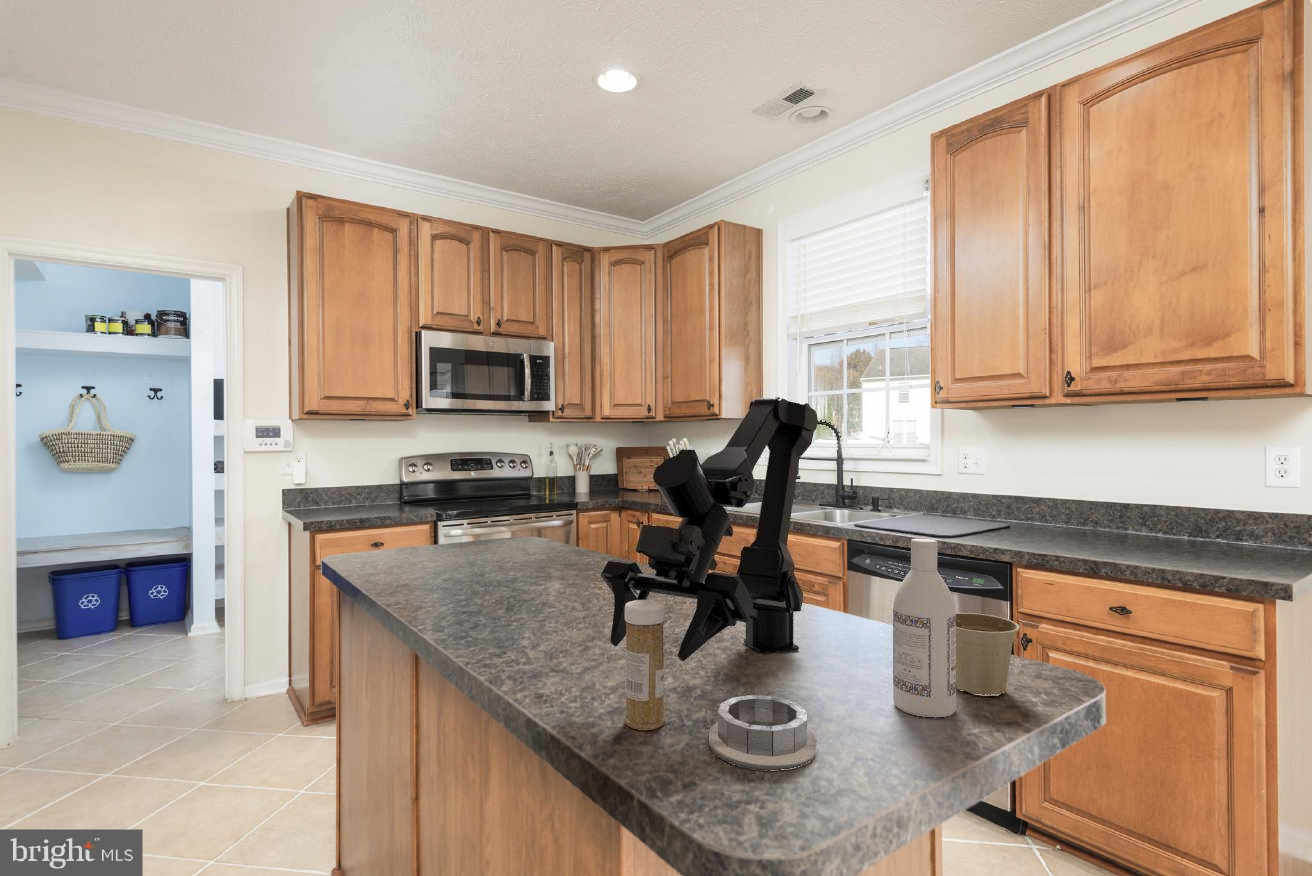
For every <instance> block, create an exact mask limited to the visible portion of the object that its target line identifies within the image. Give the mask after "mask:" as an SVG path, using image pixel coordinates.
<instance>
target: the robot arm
mask: <svg viewBox="0 0 1312 876" xmlns="http://www.w3.org/2000/svg"><path fill="white" fill-rule="evenodd" d="M817 413H818V412H817V411H816V409H815V408H812V407H811V406H810V404H809V403H807V402H798V403H797V402H795V401H794V402H793V401H789V400H787V399H785V398H781V397H780V396H777V397H776V396H774V397H772V396H771V397H770V396H769V397H756V398H755V399H752V400H751V401H750V403H749V407H748V412H747V413H746V414H745V416H744V417H743V419H742V421H741V422H740V423H739V425H738V427H737V428H736V430H735V432H733V434H732V435H731V438H730V439H729V440H728V442H727V444H726V445H725V446H724V448H723V449H722V450H721V451H718V452H716V453H713V454H712V455H709V456H707V458H706V459H705V460H703V462H702V463H700V460H699V456H698V454H697V452H696V450H695V449H683V448H682V449H679V452H678V454H677V455H676V454H675V455H674V456H671V457H669V458H668V459H665V460H664V461H662V462H661V464H659V465H657V466H656V467H655V469H654V471H653V473H652V475H653V476H652V479H653V482H654V484H655V486H656V487H657V489H658V490H659V493H660V494H661V497H662V498H663V499H664V502H665V503H666V505H667V507H668V508H669V510H670V512H671V513H672V514H673V515H674V516H676V517H677V518H681V520H680V522H679V525H678V526H677V528H674V527H670V526H666V525H665V526H664V525H663V526H662V525H653V524H652V525H650V524H642V525H641V528H640V531H639V535H638V539H637V542H636V547H635V550H634V551H635V552H636V553H637V554H642V555H643V556H646V557H648V558H649V560H648V563H647V564H648V566H649V568H650V569H651V570H654V571H655V574H654V575H653V574H652V575H651V574H646V573H645V574H644V572H643V571H642V570H641V568H640V566H639V565H638V564H637V562H636V561H628V560H619V559H611V560H608V561H607V563H606V564H605V565H604V568H603V569H602V570H601V572H600V577H601V578H602V580H603V581H604V582H605V584H606V585H607V587H608V588H609V590H610V591H611V592H612V594H613V600H614V601H613V602H614V603H613V617H612V623H611V630H610V631H611V633H610V640H609V641H610V644H612V646H613V647H618V646H619V644H620V643H621V642H622V641H623V640H624V639H625V637H626V624H625V623H626V621H625V605H626V604H627V603H628V602H631V601H635V600H648V597H649V595H650V593H654V594H660V595H666V596H673V597H678V598H684V599H689V600H690V599H691V600H696V609H695V612H694V614H693V616H692V618H691V621H690V623H689V625H688V627H687V630H686V631H685V634H684V637H683V639H682V641H681V643H680V646H679V649H678V653H677V657H678V659H679V661H682V662H685V661H686V660H687V659H688V658H690V657H691V656H692V655H693V654H694V653H696V651H698V650H699V649H700V648H701V647H703V646H704V645H705V644H706V643H707V642H709V641H710V640H711V639H712V638H713V637H714V636H717V635H718V634H719V633H721V632H722V631H723V630H725V629H727V628H728V627H735V626H736V625H737V623H738V622H741V623H745V638H743V643H745V644H746V645H747V646H749V647H751V648H752V649H754V650H755V651H756V652H758V653H759V654H772V653H773V654H774V653H781V652H790V651H799V650H800V646H799V645H797V644H796V643H794V612H795V613H797V612H801V611H802V607H803V602H804V593H803V590H802V588H801V586H800V583H799V581H798V579H797V577H796V575H795V566H796V565H795V562H794V560H793V558H792V555H791V552H790V551H789V549H788V539H789V531H790V525H791V523H790V522H791V519H792V518H791V517H792V511H793V502H794V496H795V490H796V484H797V483H796V482H797V475H798V467H799V462H800V458H801V457H803V454H804V453H805V452H806V451H807V450H808V449H809V448H810V446H811V445H812V444H813V443H812V442H813V440H814V439H813V437H814V433H815V431H816V430H817V427H818V421H819V420H818V414H817ZM766 447H767V448H768V450H769V451H768V459H767V464H766V465H767V466H766V472H765V479H764V485H763V486H764V487H763V492H762V499H761V504H760V510H759V516H758V523H757V531H756V534H755V535H756V536H755V539H754V540H753V542H752V543H751V544H750V545H747V546H746V545H744V546H743V547H742V549H741V551H740V558H739V563H738V568H737V569H736V570H737V571H736V574H732V573H724V572H723V573H722V572H717V571H716V572H715V570H716V569H717V566H718V562H717V561H716V559H715V556H716V554H717V552H718V550H719V547H720V545H721V543H722V540H723V538H724V537H728V538H729V537H733V535H734V528H733V526H732V524H731V521H730V520H731V518H730V516H729V515H728V512H727V511H726V509H725V508H732V509H733V508H735V509H736V508H738V509H740V508H744V507H745V506H746V505H747V503H748V502H749V501H750V500H749V499H751V497H752V495H753V491H754V488H755V485H756V482H755V478H754V474H753V472H754V469H755V466H756V465H757V463H758V462H759V459H760V458H761V456H762V454H763V453H764V451H765V449H766ZM709 571H712V572H709Z"/></svg>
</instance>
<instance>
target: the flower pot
mask: <svg viewBox="0 0 1312 876" xmlns="http://www.w3.org/2000/svg"><path fill="white" fill-rule="evenodd" d="M1020 627H1021V626H1020V625H1019V623H1017V622H1016V621H1013V620H1011V619H1007V618H1005V617H1000V616H996V615H992V614H986V613H985V614H983V613H975V612H956V688H957V689H956V690H958V689H959V690H963V691H962V692H968V693H969V694H971V693H972V694H982V695H985V694H987V695H988V694H989V695H991V694H1000V693H1002V694H1004V693H1003V692H1005V691H1006V692H1007V685H1008V679H1009V673H1010V672H1009V670H1010V664H1011V663H1010V662H1011V656H1012V650H1013V644H1014V642H1015V641H1016V635H1017V633H1018V632H1019V631H1020ZM959 690H958V691H959ZM1006 692H1005V693H1006ZM972 694H971V695H972Z"/></svg>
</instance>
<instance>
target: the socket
mask: <svg viewBox="0 0 1312 876" xmlns="http://www.w3.org/2000/svg"><path fill="white" fill-rule="evenodd" d="M807 717H808V716H807V710H806V709H805V708H803V707H802V706H801V705H799V704H797V703H796V702H794V701H791V700H788V699H785V698H782V697H779V696H775V695H774V696H773V695H772V696H771V695H760V694H750V695H749V694H748V695H742V696H741V695H740V696H733V697H731V698H729V699H727V700H724V701H722V702H721V703H720V704H719V707H718V711H717V722H715V723H714V724H713V725H712V726H711V727H710V729H709V733H708V745H709V749H710V748H711V749H710V751H713V752H712V753H713V754H714V755H715V754H716V755H717V756H719V757H720V758H721V759H720V758H719V757H718V758H719V759H720V760H722V759H723V760H722V761H724V760H725V761H727V762H730V763H732V764H735V765H739V766H741V767H740V768H742V767H744V768H743V769H745V768H749V769H748V770H750V769H756V770H755V771H757V770H767V771H766V772H771V771H770V770H781V769H790V768H794V767H798V766H801V765H804V764H806V763H808V762H809V761H811V760H812V759H813V758H814V756H815V755H817V751H816V750H818V749H817V742H818V741H817V738H816V735H815V734H814V732H813V731H812V730H811V729H809V728H808V725H807V724H808V719H807ZM716 755H715V756H716ZM717 756H716V757H717ZM815 757H816V756H815ZM814 759H815V758H814ZM814 759H813V760H814ZM813 760H812V761H813ZM725 761H724V762H725ZM812 761H811V762H812ZM727 762H726V763H727ZM730 763H729V764H730ZM732 764H731V765H732ZM808 764H809V763H808ZM735 765H734V766H735ZM806 765H807V764H806ZM804 766H805V765H804Z"/></svg>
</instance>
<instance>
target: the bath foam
mask: <svg viewBox="0 0 1312 876" xmlns="http://www.w3.org/2000/svg"><path fill="white" fill-rule="evenodd" d="M910 567H911V568H910V570H909V571H908V572H907V574H906V576H905V577H904V579H903V580H902V582H900V585H899V586H898V588H897V590H896V591H895V596H894V600H893V608H892V685H893V686H892V687H893V688H892V691H893V692H892V698H893V703H894V705H895V706H896V707H897V708H898V709H899V710H900V711H902V712H904V713H906V714H908V715H911V714H912V715H911V716H915V715H917V716H916V717H919V716H923V717H922V718H925V717H935V718H934V719H937V718H936V717H944V718H948V717H950V716H952V715H954V714H955V712H956V709H957V707H956V706H957V689H956V613H957V611H956V605H955V600H954V597H953V595H952V593H951V590H950V589H949V587H948V586H947V584H946V582H945V581H944V579H943V577H942V576H941V575H940V573H939V572H938V540H936V539H931V538H912V539H911V540H910ZM947 716H948V717H947Z"/></svg>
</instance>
